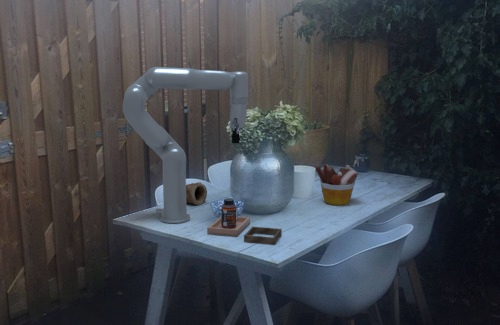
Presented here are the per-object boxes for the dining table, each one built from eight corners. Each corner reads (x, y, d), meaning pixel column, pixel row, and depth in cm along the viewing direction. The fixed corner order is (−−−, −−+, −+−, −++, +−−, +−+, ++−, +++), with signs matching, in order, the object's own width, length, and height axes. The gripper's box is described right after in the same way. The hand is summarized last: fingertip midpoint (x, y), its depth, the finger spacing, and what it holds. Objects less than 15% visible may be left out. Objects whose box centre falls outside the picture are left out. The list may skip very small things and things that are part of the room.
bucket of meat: (337, 196, 262) (338, 157, 258) (363, 203, 249) (364, 162, 245) (308, 202, 250) (309, 161, 246) (334, 209, 237) (335, 166, 233)
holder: (243, 241, 193) (243, 235, 193) (252, 232, 204) (252, 226, 204) (274, 244, 190) (274, 238, 190) (281, 235, 201) (281, 228, 201)
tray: (237, 236, 199) (236, 230, 198) (207, 234, 202) (207, 227, 202) (250, 223, 216) (250, 217, 215) (222, 221, 219) (222, 215, 219)
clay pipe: (175, 213, 245) (204, 205, 241) (168, 192, 243) (197, 184, 239) (188, 202, 263) (215, 195, 259) (181, 182, 261) (208, 174, 257)
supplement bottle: (226, 229, 205) (226, 201, 203) (218, 226, 210) (218, 198, 208) (239, 227, 208) (239, 199, 206) (231, 223, 213) (230, 196, 211)
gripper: (236, 100, 229) (236, 138, 232) (223, 102, 213) (224, 144, 216) (253, 100, 227) (253, 139, 230) (241, 102, 210) (241, 145, 214)
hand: (239, 141), depth 223 cm, fingers open, 9 cm apart
